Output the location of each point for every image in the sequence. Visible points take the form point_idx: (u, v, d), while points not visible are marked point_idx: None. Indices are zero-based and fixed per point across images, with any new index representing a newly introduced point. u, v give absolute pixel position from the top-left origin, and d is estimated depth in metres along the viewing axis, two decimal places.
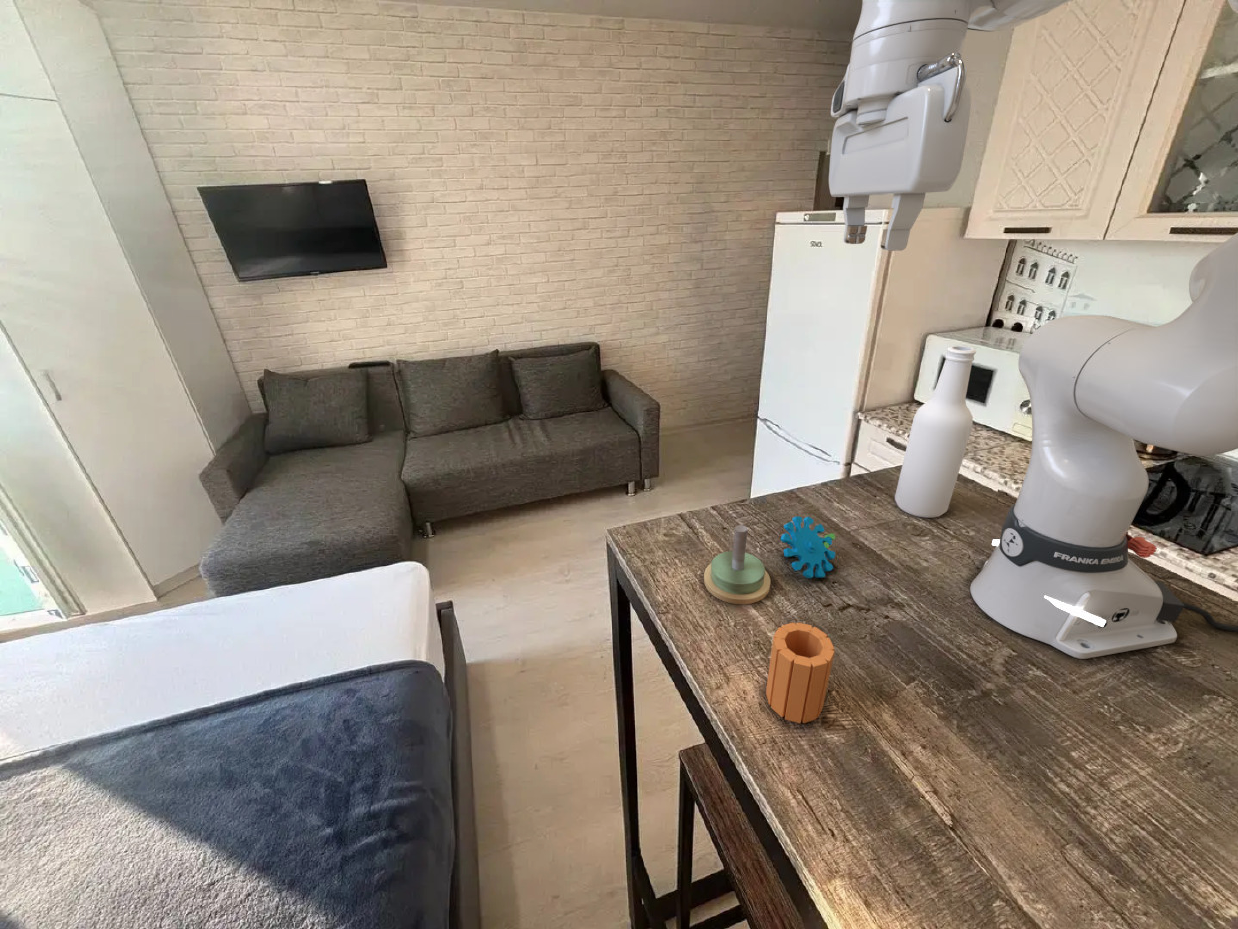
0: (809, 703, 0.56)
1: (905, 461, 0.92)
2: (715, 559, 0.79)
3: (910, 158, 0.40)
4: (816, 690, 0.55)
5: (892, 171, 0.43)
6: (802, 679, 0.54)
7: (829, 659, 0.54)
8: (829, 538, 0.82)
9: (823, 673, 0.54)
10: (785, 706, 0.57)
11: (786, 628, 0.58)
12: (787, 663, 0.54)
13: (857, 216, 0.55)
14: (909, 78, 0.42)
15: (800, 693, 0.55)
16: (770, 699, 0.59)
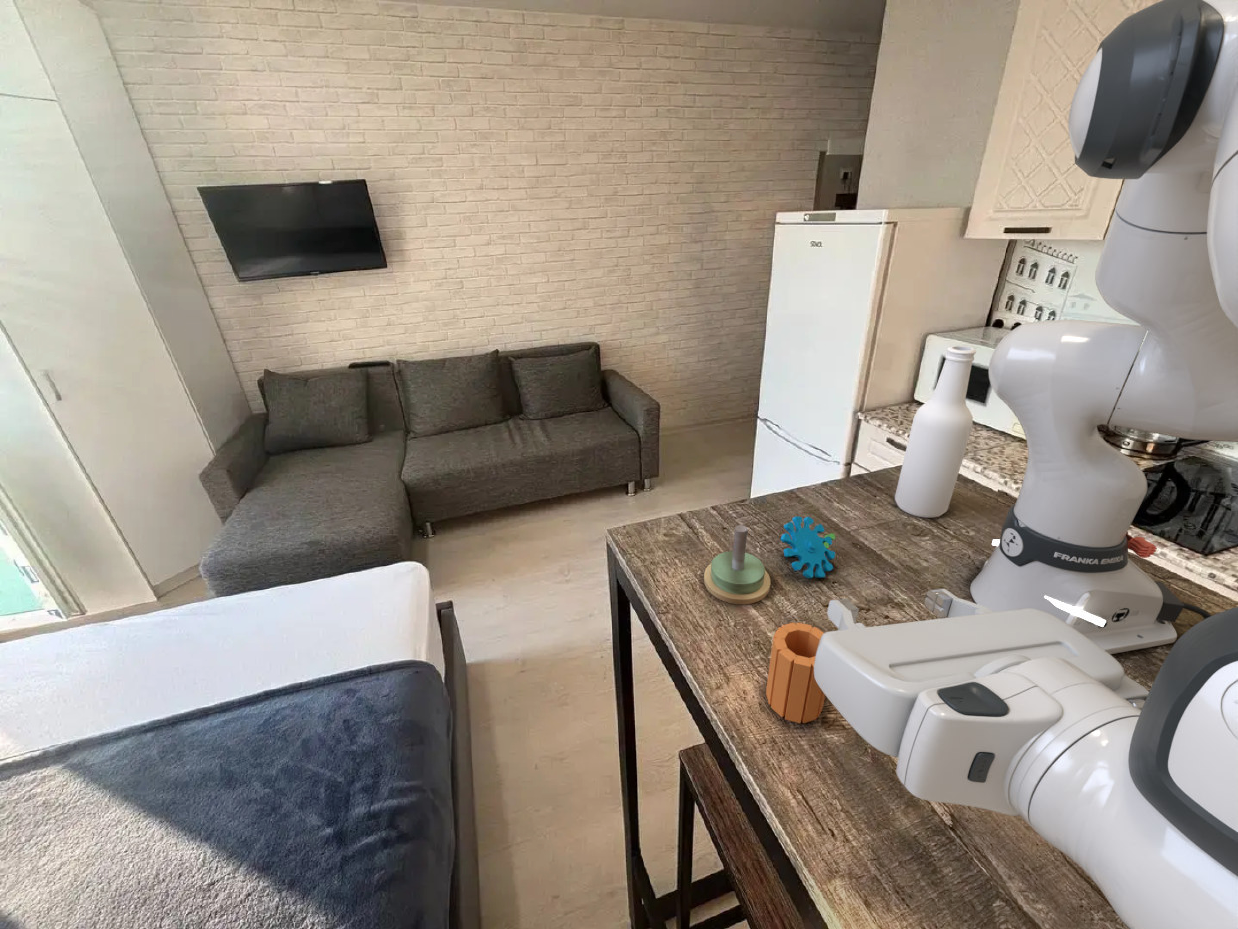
0: (809, 703, 0.56)
1: (905, 461, 0.92)
2: (715, 559, 0.79)
3: None
4: (816, 690, 0.55)
5: None
6: (802, 679, 0.54)
7: None
8: (829, 538, 0.82)
9: None
10: (785, 706, 0.57)
11: (786, 628, 0.58)
12: (787, 663, 0.54)
13: None
14: None
15: (800, 693, 0.55)
16: (770, 699, 0.59)
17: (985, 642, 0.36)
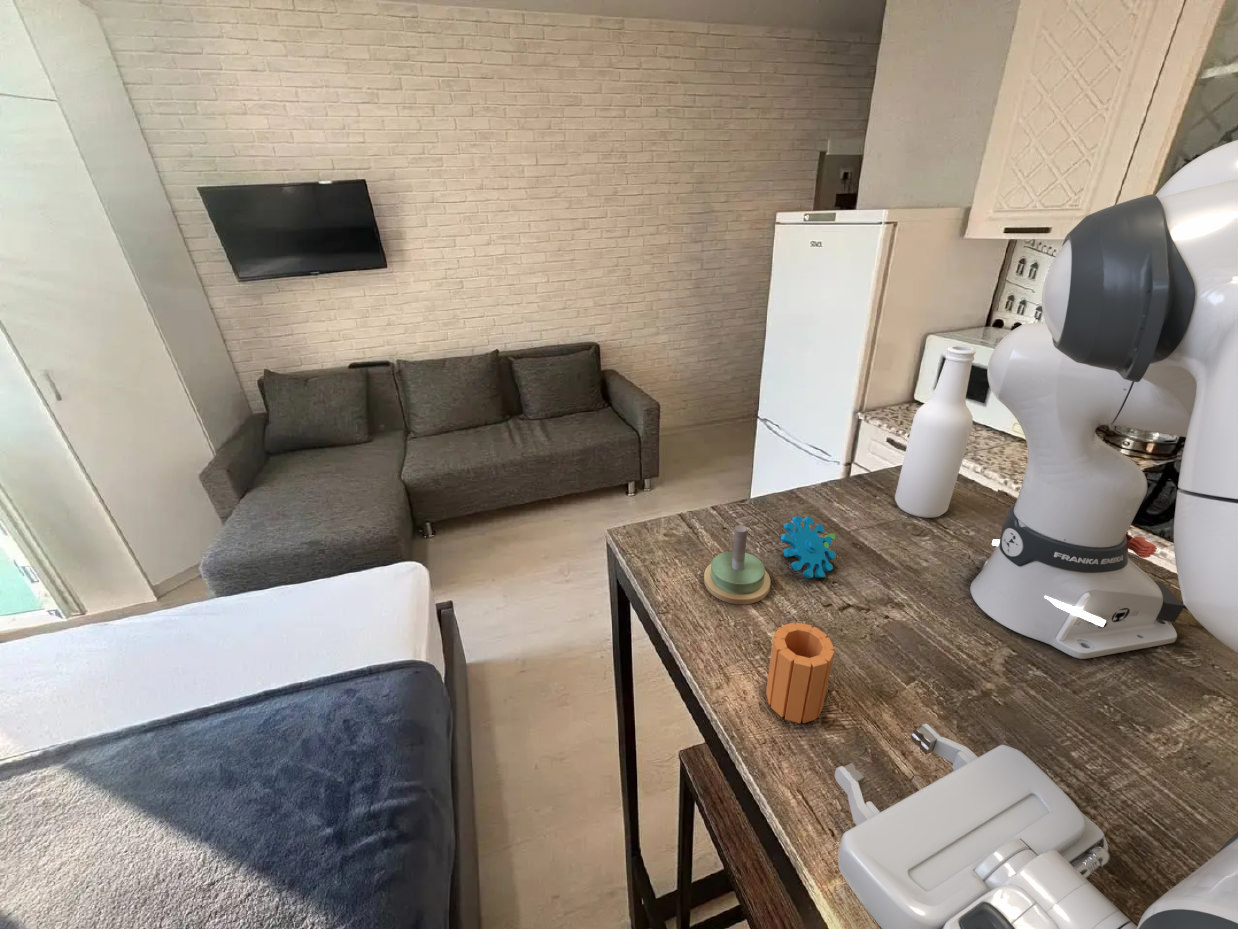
0: (809, 703, 0.56)
1: (905, 461, 0.92)
2: (715, 559, 0.79)
3: None
4: (816, 690, 0.55)
5: None
6: (802, 679, 0.54)
7: (829, 659, 0.54)
8: (829, 538, 0.82)
9: (823, 673, 0.54)
10: (785, 706, 0.57)
11: (786, 628, 0.58)
12: (787, 663, 0.54)
13: None
14: None
15: (800, 693, 0.55)
16: (770, 699, 0.59)
17: (976, 812, 0.41)
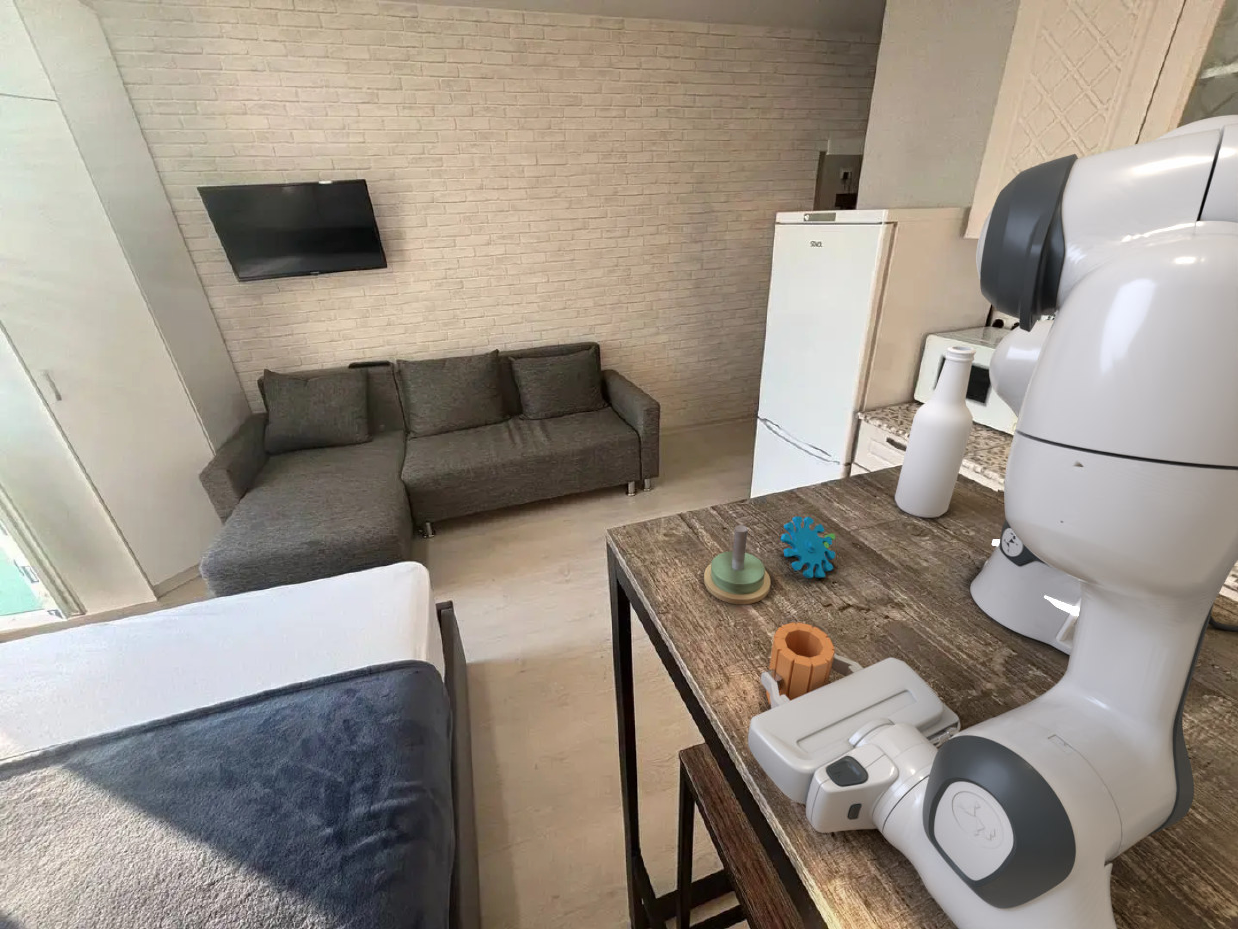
0: None
1: (905, 461, 0.92)
2: (715, 559, 0.79)
3: None
4: None
5: None
6: (802, 679, 0.54)
7: (829, 659, 0.54)
8: (829, 538, 0.82)
9: (823, 673, 0.54)
10: None
11: (787, 627, 0.58)
12: (787, 663, 0.54)
13: None
14: None
15: (800, 693, 0.55)
16: None
17: (858, 702, 0.51)
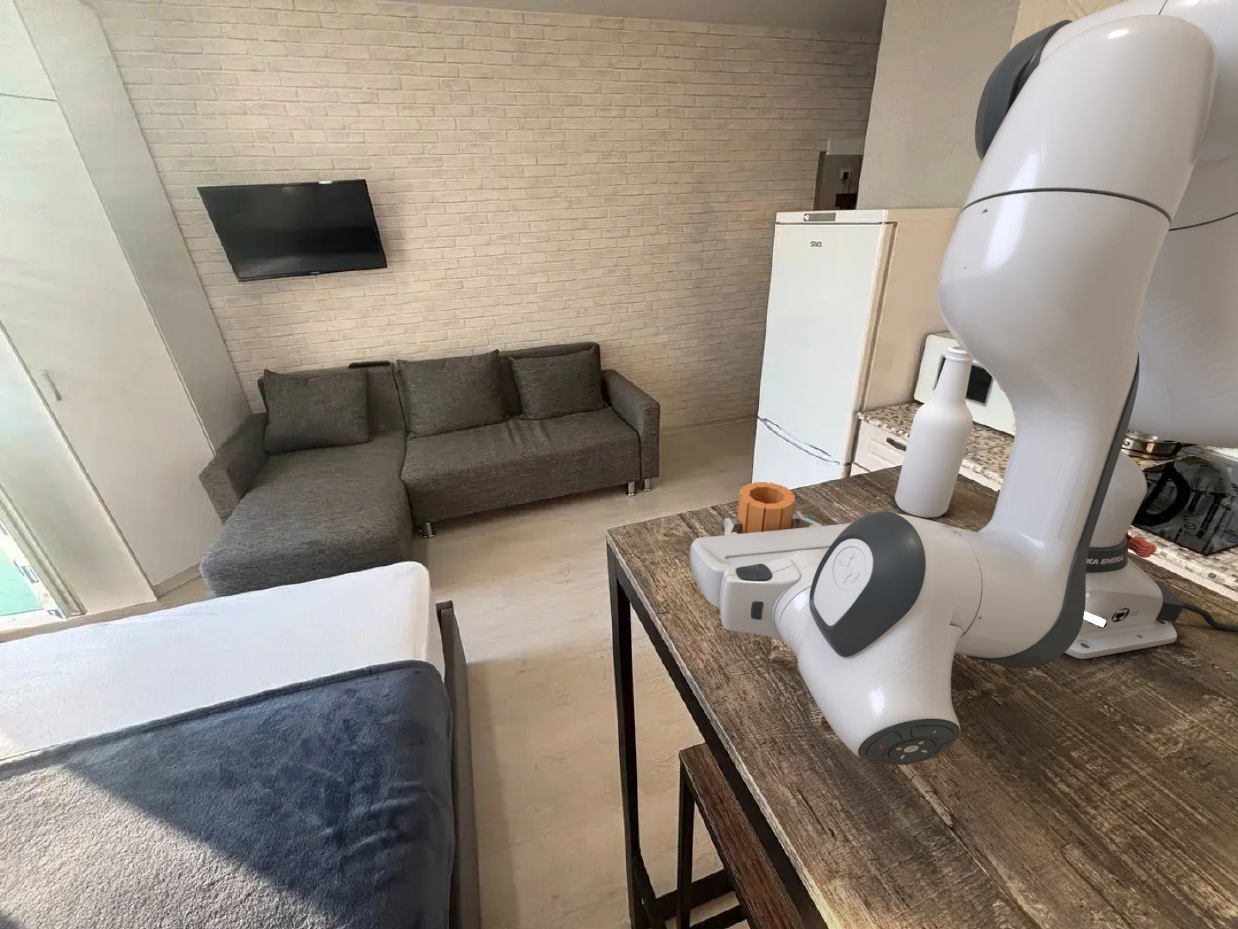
0: None
1: (905, 461, 0.92)
2: None
3: None
4: None
5: None
6: (756, 522, 0.58)
7: (784, 506, 0.57)
8: None
9: (777, 519, 0.57)
10: None
11: (757, 484, 0.62)
12: (744, 506, 0.58)
13: None
14: None
15: None
16: None
17: (801, 543, 0.54)
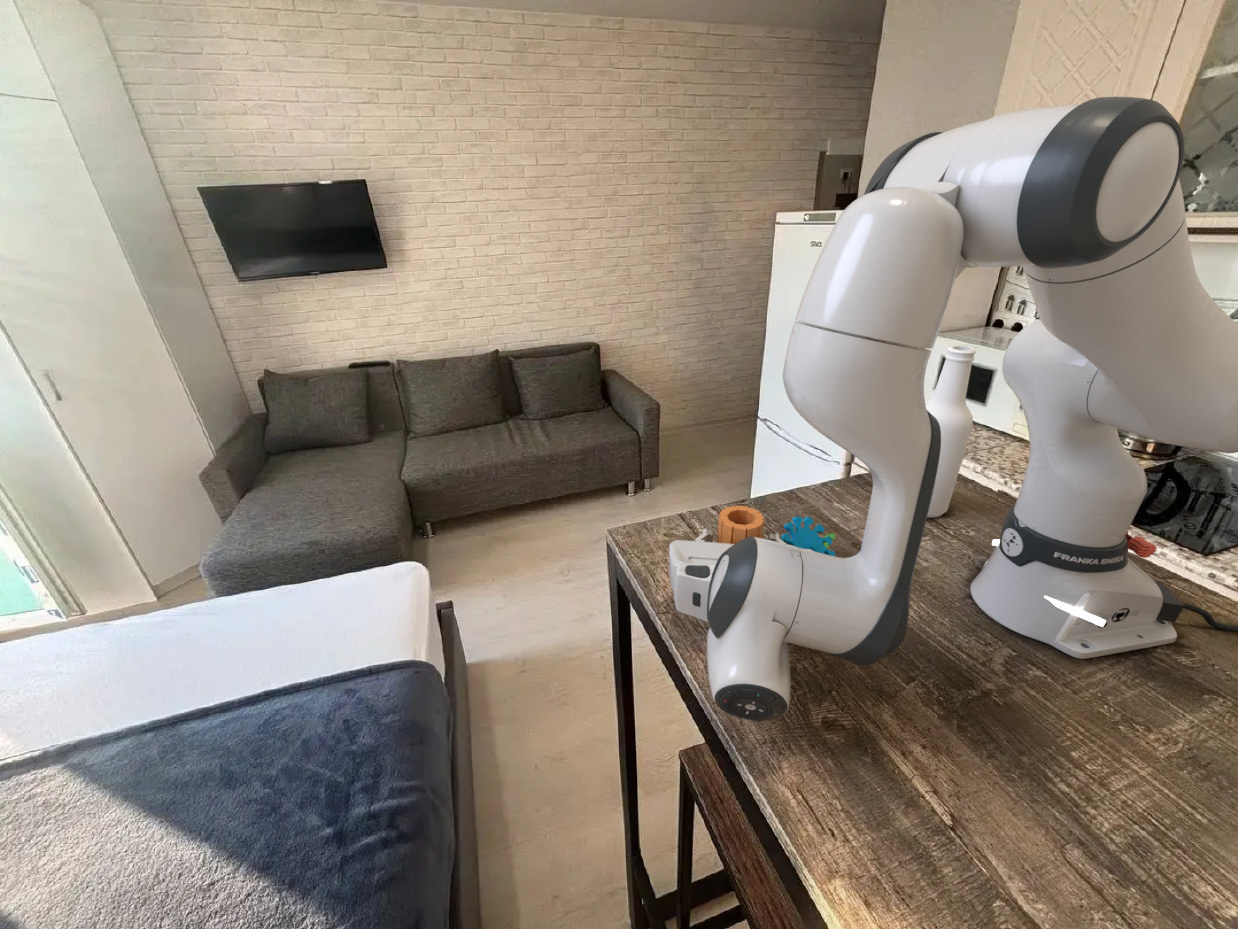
0: None
1: None
2: None
3: None
4: None
5: None
6: (727, 537, 0.72)
7: (749, 528, 0.71)
8: (829, 538, 0.82)
9: (743, 538, 0.71)
10: None
11: (739, 507, 0.76)
12: (720, 523, 0.73)
13: None
14: None
15: None
16: None
17: None
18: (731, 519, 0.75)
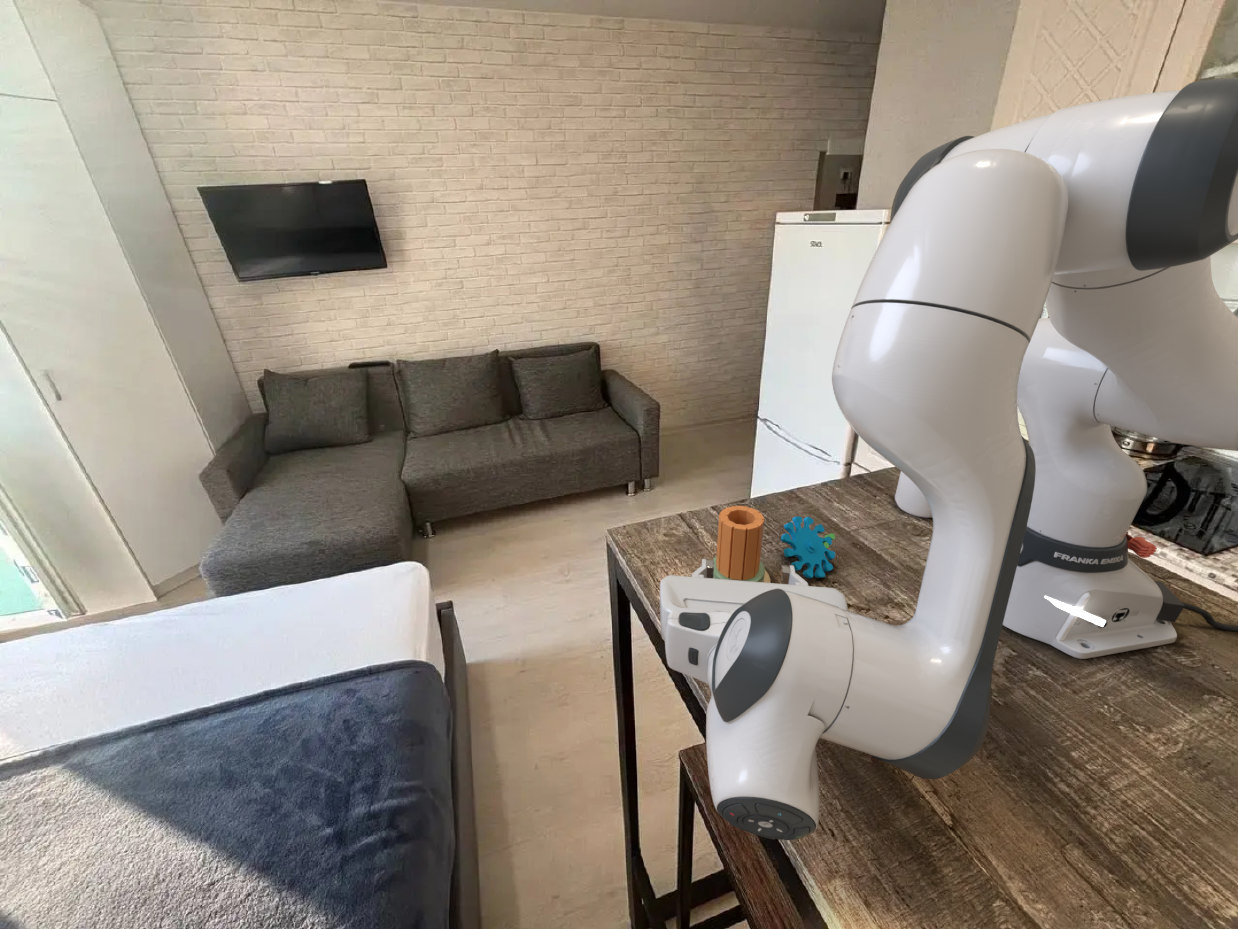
0: (733, 561, 0.73)
1: None
2: (715, 559, 0.79)
3: None
4: (738, 551, 0.72)
5: None
6: (727, 537, 0.72)
7: (749, 528, 0.71)
8: (829, 538, 0.82)
9: (743, 538, 0.71)
10: None
11: (739, 507, 0.76)
12: (720, 523, 0.73)
13: None
14: None
15: (726, 550, 0.73)
16: None
17: None
18: (731, 519, 0.75)
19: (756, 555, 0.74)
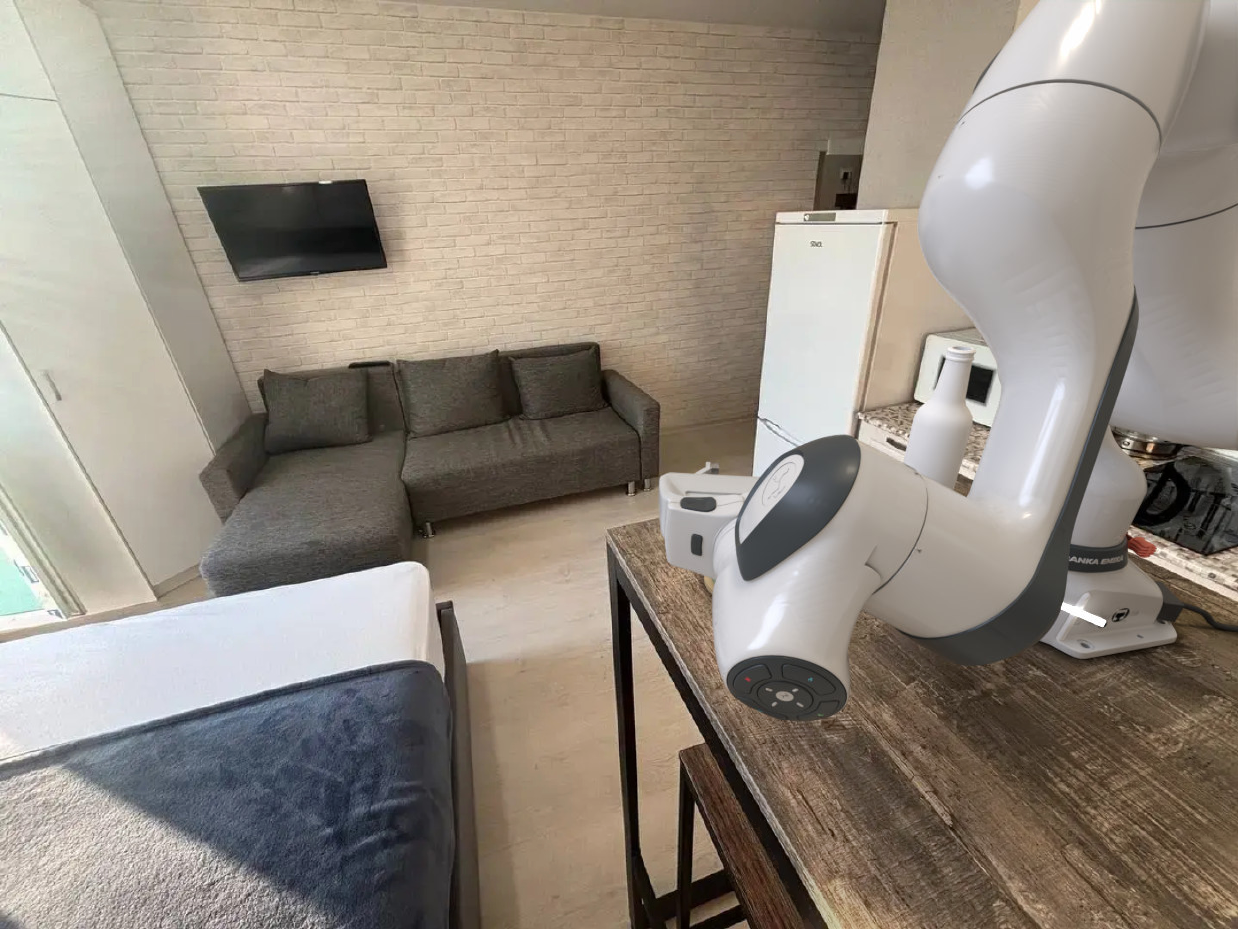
0: None
1: (905, 461, 0.92)
2: None
3: None
4: None
5: None
6: None
7: None
8: None
9: None
10: None
11: None
12: None
13: None
14: None
15: None
16: None
17: None
18: None
19: None
